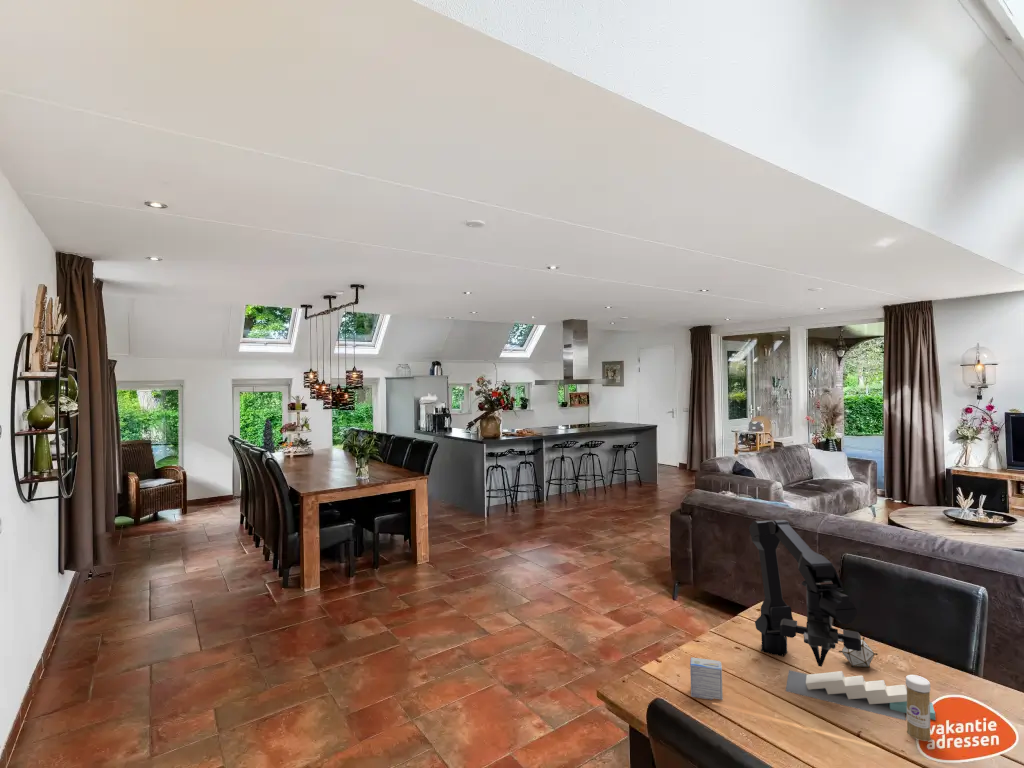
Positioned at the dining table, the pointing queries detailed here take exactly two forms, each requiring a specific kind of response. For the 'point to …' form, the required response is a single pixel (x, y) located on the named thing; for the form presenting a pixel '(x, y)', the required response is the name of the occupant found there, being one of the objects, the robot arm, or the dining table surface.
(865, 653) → the game die
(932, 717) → the domino
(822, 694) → the slate mat
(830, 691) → the domino
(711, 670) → the medicine box
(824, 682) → the domino
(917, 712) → the sprinkles bottle
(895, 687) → the domino
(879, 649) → the dining table surface
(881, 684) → the domino
